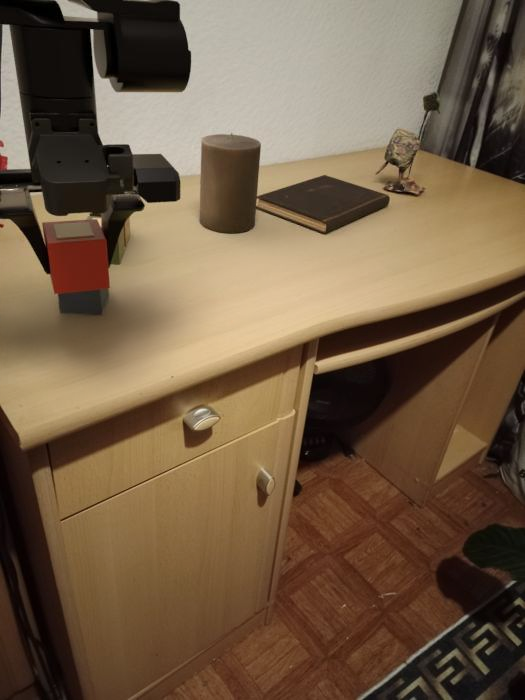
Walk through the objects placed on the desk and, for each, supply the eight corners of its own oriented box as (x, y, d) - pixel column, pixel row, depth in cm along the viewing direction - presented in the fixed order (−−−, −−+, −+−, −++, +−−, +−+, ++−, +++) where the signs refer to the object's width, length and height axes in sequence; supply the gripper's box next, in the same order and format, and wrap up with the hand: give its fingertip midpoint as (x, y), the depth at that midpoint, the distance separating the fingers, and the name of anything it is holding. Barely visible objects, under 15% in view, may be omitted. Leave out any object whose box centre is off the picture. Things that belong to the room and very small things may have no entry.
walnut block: (92, 245, 82) (89, 212, 79) (98, 232, 86) (95, 200, 83) (125, 247, 82) (124, 214, 79) (130, 234, 86) (128, 203, 84)
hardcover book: (254, 208, 101) (256, 196, 100) (322, 185, 117) (324, 174, 116) (325, 235, 94) (327, 222, 92) (388, 206, 109) (390, 195, 108)
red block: (54, 294, 50) (47, 242, 47) (48, 270, 53) (41, 221, 50) (110, 288, 51) (106, 238, 49) (101, 265, 55) (97, 217, 52)
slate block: (59, 313, 65) (54, 275, 63) (69, 293, 70) (65, 256, 67) (102, 315, 66) (99, 277, 63) (109, 295, 70) (106, 259, 67)
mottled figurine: (384, 178, 125) (405, 84, 114) (429, 192, 120) (456, 94, 109) (367, 185, 120) (387, 86, 109) (413, 199, 114) (440, 97, 103)
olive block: (84, 262, 77) (80, 228, 74) (90, 247, 81) (87, 215, 78) (119, 264, 77) (117, 230, 75) (124, 249, 82) (123, 217, 79)
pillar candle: (254, 235, 91) (263, 142, 82) (196, 231, 90) (198, 137, 82) (254, 214, 99) (262, 128, 90) (200, 210, 98) (203, 122, 90)
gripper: (-87, 114, 34) (-33, 327, 42) (201, 116, 40) (196, 299, 49) (-75, 81, 42) (-31, 265, 51) (163, 87, 49) (165, 248, 57)
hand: (77, 269), depth 52 cm, fingers closed on red block, 5 cm apart
